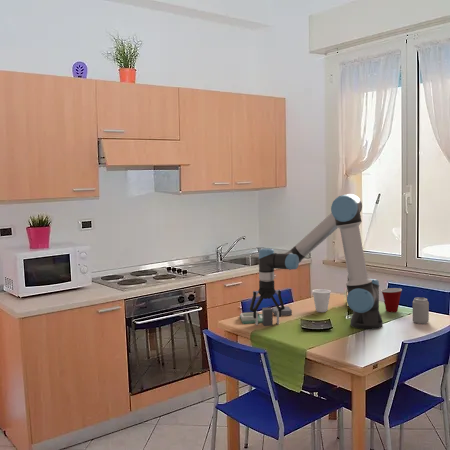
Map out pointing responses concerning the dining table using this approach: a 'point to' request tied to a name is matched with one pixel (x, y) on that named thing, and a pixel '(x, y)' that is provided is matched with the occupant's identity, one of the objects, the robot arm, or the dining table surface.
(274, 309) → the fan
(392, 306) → the plastic cup
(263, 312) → the plug
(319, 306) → the cup
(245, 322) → the board
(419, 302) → the can
